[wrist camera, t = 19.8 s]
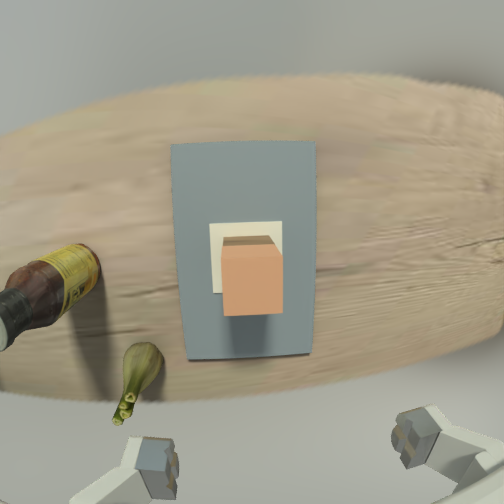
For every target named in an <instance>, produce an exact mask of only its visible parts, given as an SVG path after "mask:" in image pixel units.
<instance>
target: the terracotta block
mask: <svg viewBox="0 0 504 504" xmlns="http://www.w3.org/2000/svg"><path fill="white" fill-rule="evenodd" d="M221 274H222V292H223V309H224V316H240V315H260V314H277V313H283V256H282V254H281V253H280V251H279V250H278V248H277V247H276V246H275V244H263V245H237V246H222V251H221Z"/></svg>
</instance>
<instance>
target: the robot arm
mask: <svg viewBox="0 0 504 504" xmlns="http://www.w3.org/2000/svg"><path fill="white" fill-rule="evenodd" d="M396 422H397V425H396V426H395V428H394V429H393V431H392V435H391V442H392V445H393V447H394V449H395V451H397V452H400V453H401V456H400V459H401V461H402V463H403V464H404V466H405V468H406V469H409V468H413V467H416V466H419V465H422V464H425V465H427V466H429V467H430V468H432V469H434V470H435V471H437V472H439V473H441V474H442V475H444V476H446V477H448V478H449V479H451V480H453V481H455V482H457V483H458V485H457V486H456V488H455V489H454V491H453V493H452V494H451V495H449V496H447V497H445V498H443V499H440V500H438V501H436V502H434V503H431V504H504V444H503V443H502V441H500V440H496V439H494V438H491V437H488V436H484V435H482V434H479V433H476V432H473V431H470V430H467V429H464V428H461V427H459V426H454V427H453V426H452V424H451V423H450V422H449V421H448V420H447V418H446V417H445V416H444V415H443V414H442V413H441V411H440V410H439V409H438V408H437V407H436V406H435V405H434V404H429V405H426V406H423V407H420V408H416V409H413V410H410V411H406V412H402V413H399V415H398V416H397V418H396ZM174 448H175V445H174V441H173V439H168V438H155V437H141V436H132V435H131V436H130V437H129V438H128V441H127V444H126V447H125V451H124V454H123V457H122V460H121V463H120V467H115V468H113V469H112V470H111V471H109V472H108V473H106V474H105V475H104V476H102V477H101V478H99V479H98V480H96V481H95V482H94V483H92V484H91V485H89V486H88V487H86V488H85V489H83V490H82V491H80V492H79V493H77V494H76V495H74V496H73V497H72V498H71V499H70V502H69V504H149V503H150V502H151V501H152V499H166V500H176V493H177V484H176V481H175V479H176V478H178V476H179V461H178V456H177V453H176V452H174ZM0 504H8V503H6V502H4V501H1V500H0Z"/></svg>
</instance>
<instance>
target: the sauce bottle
mask: <svg viewBox="0 0 504 504" xmlns="http://www.w3.org/2000/svg"><path fill="white" fill-rule="evenodd" d="M99 276H100V265H99V261H98V258H97V255H96V254H95V253H94V252H93V251H92V250H91V249H90V248H89V247H87V246H85V245H84V244H71V245H67V246H65V247H63V248H60V249H58V250H56V251H53V252H51V253H49V254H47V255H44V256H42V257H40V258H38V259H36V260H33V261H31V262H29V263H28V264H27V265H26V266H24V267H21V268H19V269H17V270H16V271H15V272H13V273H12V274H11V275H10V277H9V279H8V281H7V283H6V286H5V289H4V290H3V291H2V292H0V351H4V350H5V349H6V348H8V347H9V346H10V345H12V344H13V342H14V340H15V338H16V337H17V336H18V335H19V334H21V333H22V332H23V331H25V330H30V329H36V328H41V327H47V326H50V325H52V324H53V323H55V322H56V321H57V320H58V319H59V318H60V317H61V316H62V315H63V314H64V313H65V312H67V311H68V310H69V309H70V308H71V307H72V306H73V305H74V304H75V303H77V302H78V301H79V300H80V299H81V298H82V297H83V296H84V295H86V294H87V293H88V292H89V291H90V290H91V289H92V288H93V287H94V286H95V284H96V282H97V280H98V278H99Z"/></svg>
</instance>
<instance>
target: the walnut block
mask: <svg viewBox="0 0 504 504" xmlns="http://www.w3.org/2000/svg"><path fill="white" fill-rule="evenodd" d="M263 244H275V243H274V242H273V241H272V239H271V238H270V236H269V235H262V236H236V237H223V246H237V245H263Z"/></svg>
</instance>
